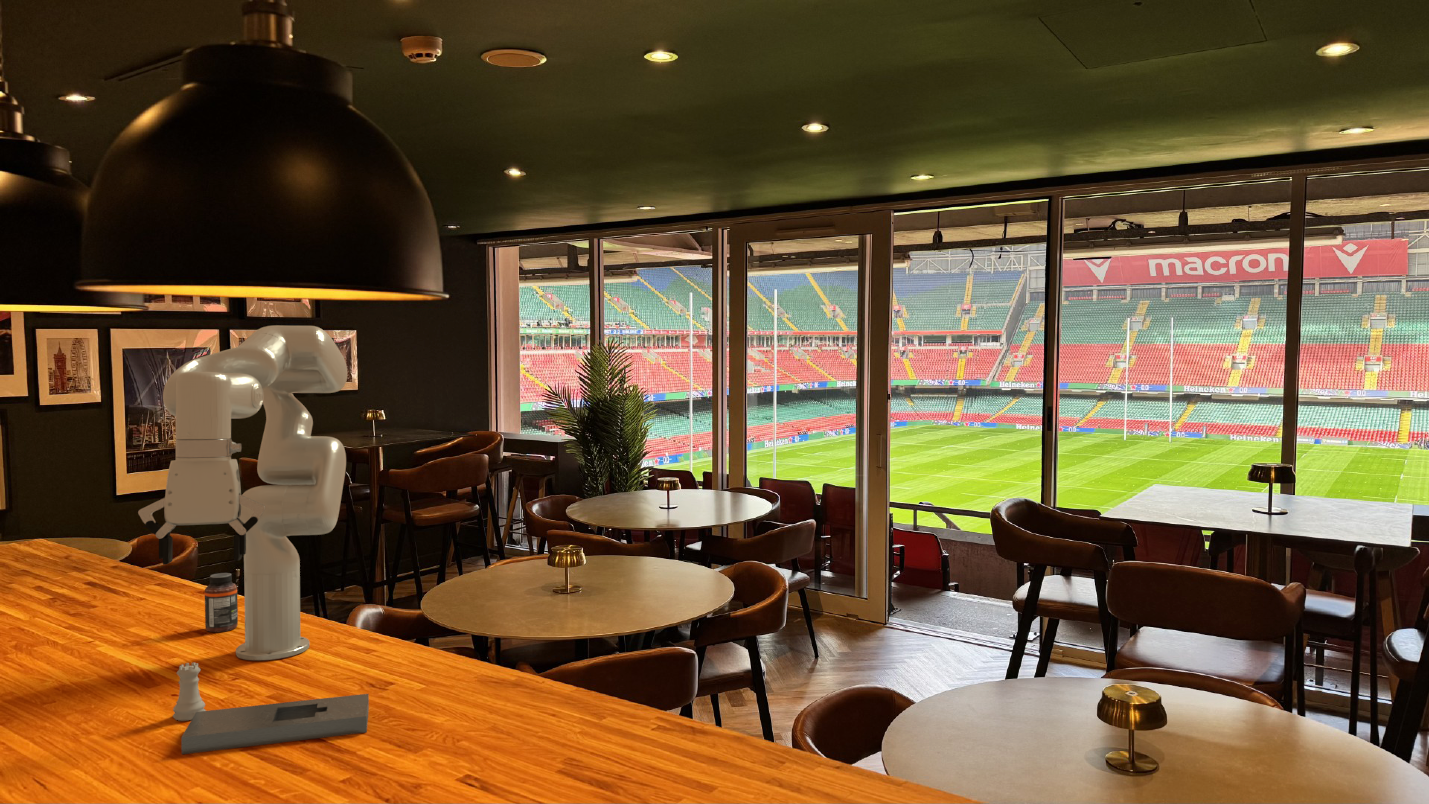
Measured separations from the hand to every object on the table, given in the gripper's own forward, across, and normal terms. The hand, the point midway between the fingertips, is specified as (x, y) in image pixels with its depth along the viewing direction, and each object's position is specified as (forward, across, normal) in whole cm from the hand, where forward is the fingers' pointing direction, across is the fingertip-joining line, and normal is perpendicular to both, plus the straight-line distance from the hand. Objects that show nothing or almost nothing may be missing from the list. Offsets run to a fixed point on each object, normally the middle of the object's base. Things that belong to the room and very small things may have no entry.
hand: (203, 561), depth 141 cm
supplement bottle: (+22, +5, -52) cm, 57 cm away
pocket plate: (+24, -12, +11) cm, 29 cm away
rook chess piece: (+24, +2, 0) cm, 24 cm away
